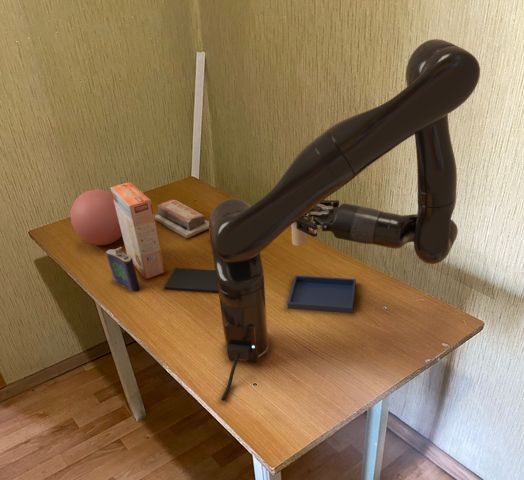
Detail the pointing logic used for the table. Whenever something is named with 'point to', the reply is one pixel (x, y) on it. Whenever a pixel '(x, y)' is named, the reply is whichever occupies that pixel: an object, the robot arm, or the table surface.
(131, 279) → the flask
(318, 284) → the tray
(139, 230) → the cracker box
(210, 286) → the mat
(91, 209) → the balloon
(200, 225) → the packaged product
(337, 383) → the table surface
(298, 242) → the mushroom
